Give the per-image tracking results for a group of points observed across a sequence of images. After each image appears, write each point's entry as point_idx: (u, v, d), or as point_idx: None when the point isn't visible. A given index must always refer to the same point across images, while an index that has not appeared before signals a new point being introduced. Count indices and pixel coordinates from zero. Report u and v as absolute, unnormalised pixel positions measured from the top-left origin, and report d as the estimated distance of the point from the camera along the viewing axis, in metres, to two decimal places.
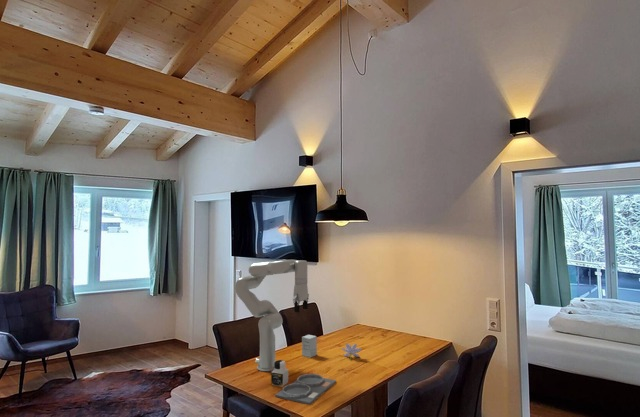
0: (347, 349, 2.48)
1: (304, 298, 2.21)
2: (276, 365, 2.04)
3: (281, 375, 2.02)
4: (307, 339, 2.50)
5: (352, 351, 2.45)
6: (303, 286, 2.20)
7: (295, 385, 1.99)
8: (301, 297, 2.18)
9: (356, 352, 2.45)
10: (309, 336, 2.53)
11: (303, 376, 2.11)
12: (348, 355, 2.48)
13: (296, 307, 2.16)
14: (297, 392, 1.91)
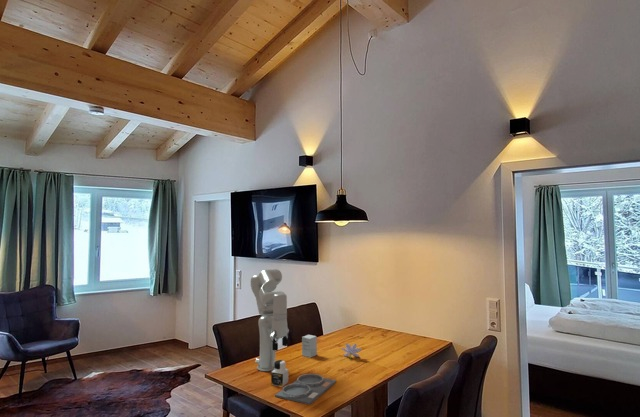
0: (347, 349, 2.48)
1: (283, 335, 2.06)
2: (276, 365, 2.04)
3: (281, 375, 2.02)
4: (307, 339, 2.50)
5: (352, 351, 2.45)
6: (282, 322, 2.05)
7: (295, 385, 1.99)
8: (280, 334, 2.03)
9: (356, 352, 2.45)
10: (309, 336, 2.53)
11: (303, 376, 2.11)
12: (348, 355, 2.48)
13: (274, 345, 2.01)
14: (297, 392, 1.91)
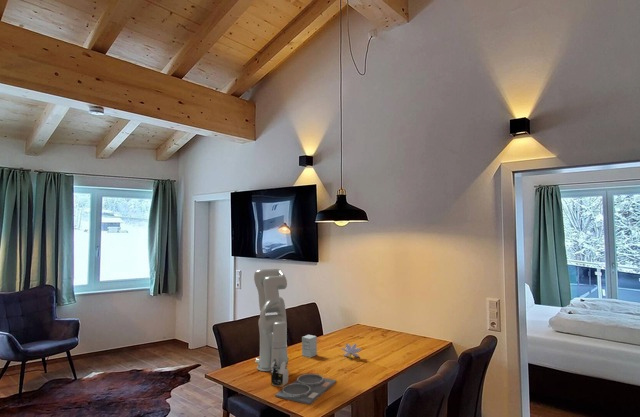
0: (347, 349, 2.48)
1: None
2: (276, 365, 2.04)
3: (281, 375, 2.01)
4: (307, 339, 2.50)
5: (352, 351, 2.45)
6: (282, 350, 2.04)
7: (295, 385, 1.99)
8: (279, 363, 2.02)
9: (356, 352, 2.45)
10: (309, 336, 2.53)
11: (303, 376, 2.11)
12: (347, 355, 2.48)
13: (275, 375, 2.01)
14: (297, 392, 1.91)
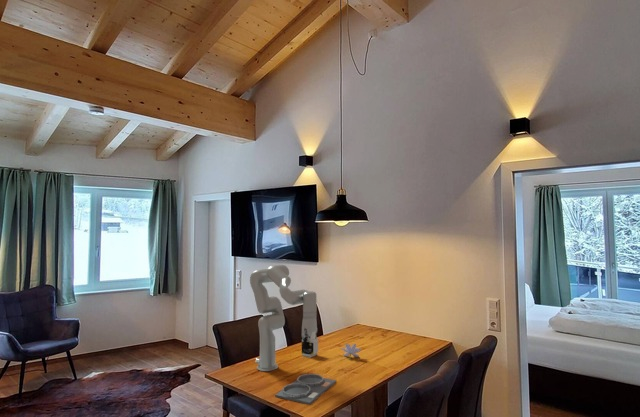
0: (347, 349, 2.48)
1: None
2: None
3: (311, 344, 2.03)
4: None
5: (351, 351, 2.45)
6: (312, 320, 2.05)
7: (295, 385, 1.99)
8: (310, 332, 2.03)
9: (355, 352, 2.45)
10: None
11: (303, 376, 2.11)
12: (347, 355, 2.48)
13: (305, 344, 2.02)
14: (297, 392, 1.91)
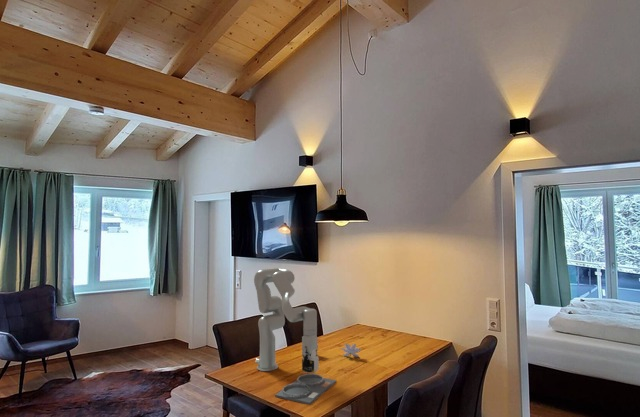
0: (346, 349, 2.48)
1: None
2: (307, 352, 2.04)
3: (312, 362, 2.02)
4: None
5: (351, 351, 2.45)
6: (312, 337, 2.05)
7: (295, 385, 1.99)
8: (310, 350, 2.03)
9: (355, 352, 2.45)
10: None
11: (303, 376, 2.11)
12: (347, 355, 2.48)
13: (306, 362, 2.02)
14: (297, 392, 1.91)
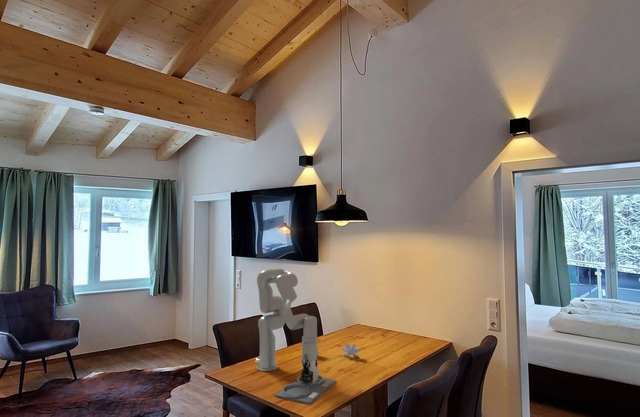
0: (346, 349, 2.48)
1: (313, 358, 2.05)
2: (306, 362, 2.04)
3: (311, 373, 2.02)
4: None
5: (351, 351, 2.45)
6: (312, 345, 2.04)
7: (295, 385, 1.99)
8: (310, 358, 2.02)
9: (355, 352, 2.45)
10: None
11: None
12: (347, 355, 2.48)
13: (305, 369, 2.01)
14: (297, 392, 1.91)
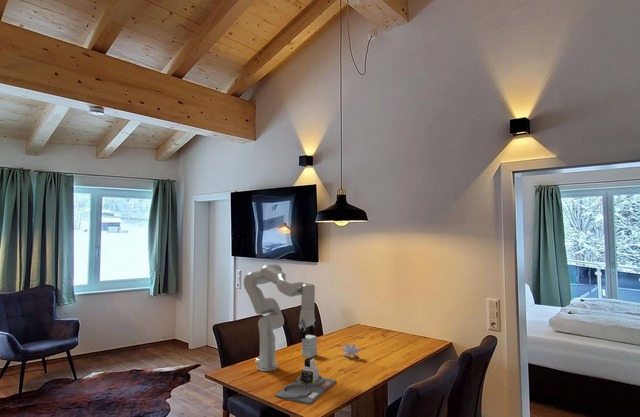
0: (346, 349, 2.48)
1: (310, 324, 2.12)
2: (306, 363, 2.04)
3: (311, 373, 2.02)
4: (307, 339, 2.50)
5: (351, 351, 2.45)
6: (310, 311, 2.11)
7: (295, 385, 1.99)
8: (307, 323, 2.09)
9: (355, 352, 2.45)
10: (309, 336, 2.53)
11: None
12: (347, 355, 2.48)
13: (302, 333, 2.08)
14: (297, 392, 1.91)
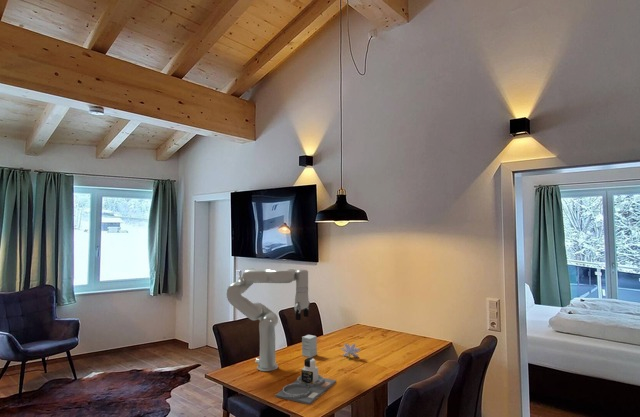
0: (346, 349, 2.48)
1: (305, 306, 2.29)
2: (306, 363, 2.04)
3: (311, 373, 2.02)
4: (307, 339, 2.50)
5: (351, 351, 2.45)
6: (304, 295, 2.28)
7: (295, 385, 1.99)
8: (302, 305, 2.26)
9: (355, 352, 2.45)
10: (309, 336, 2.53)
11: None
12: (346, 355, 2.48)
13: (297, 315, 2.25)
14: (297, 392, 1.91)
